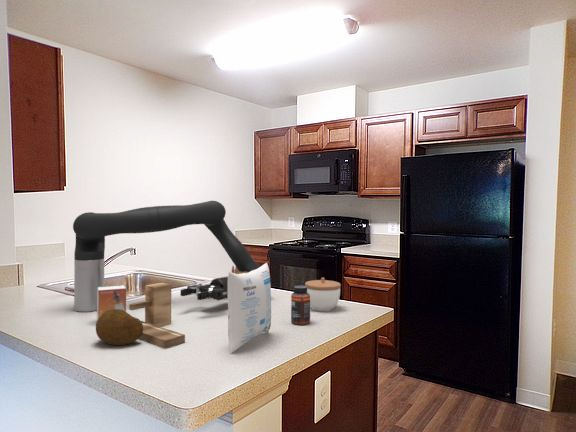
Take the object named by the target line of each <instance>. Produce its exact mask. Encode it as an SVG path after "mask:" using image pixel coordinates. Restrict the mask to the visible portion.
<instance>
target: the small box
mask: <svg viewBox="0 0 576 432" xmlns="http://www.w3.org/2000/svg"><path fill="white" fill-rule="evenodd" d="M112 309H120V310H123V311H125V312H127V288H126V285H124V284H123V285H113V286H111V285H110V286H104V287H98V289H97V310H96V322H97V321H98V319H99V317H100V316H101V315H102V314H103V313H104V312H105V311H108V310H112Z"/></svg>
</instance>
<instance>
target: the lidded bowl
mask: <svg viewBox="0 0 576 432" xmlns="http://www.w3.org/2000/svg"><path fill="white" fill-rule="evenodd" d="M304 286H307V293H309V294H310V308H311V309H312V310H313V311H317V312H331V311H333V309H334V308H335V307H336V306H337V305H338V302H339V300H340V296H341V287H342V284H341V283H340V282H338V281H335V280H327V279H325V277H321V278H320V279H314V280H308V281H305V283H304Z"/></svg>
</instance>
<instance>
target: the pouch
mask: <svg viewBox="0 0 576 432" xmlns="http://www.w3.org/2000/svg"><path fill="white" fill-rule="evenodd" d="M260 266H261V267H259V268H258V269H256V270H253V271H250V272H248V273H242V274H235V273H232V271H229V272H228V298H227V312H228V313H227V327H228V328H227V329H228V332H227V333H228V346H229V352H230V354H233V353H234V352H235V351H236V350H238V349H240V347H242V346H243V345H244V344H246V343H247V342H249V341H250V340H251V339H253V338H254V337H256V336H258V335H261V334H263V333H269V331H270V330H271V326H272V325H271V324H272V291H271V290H272V289H271V288H272V285H271V274H270V268H269V265H268V262H265V263H263V264H262V265H260Z"/></svg>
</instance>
